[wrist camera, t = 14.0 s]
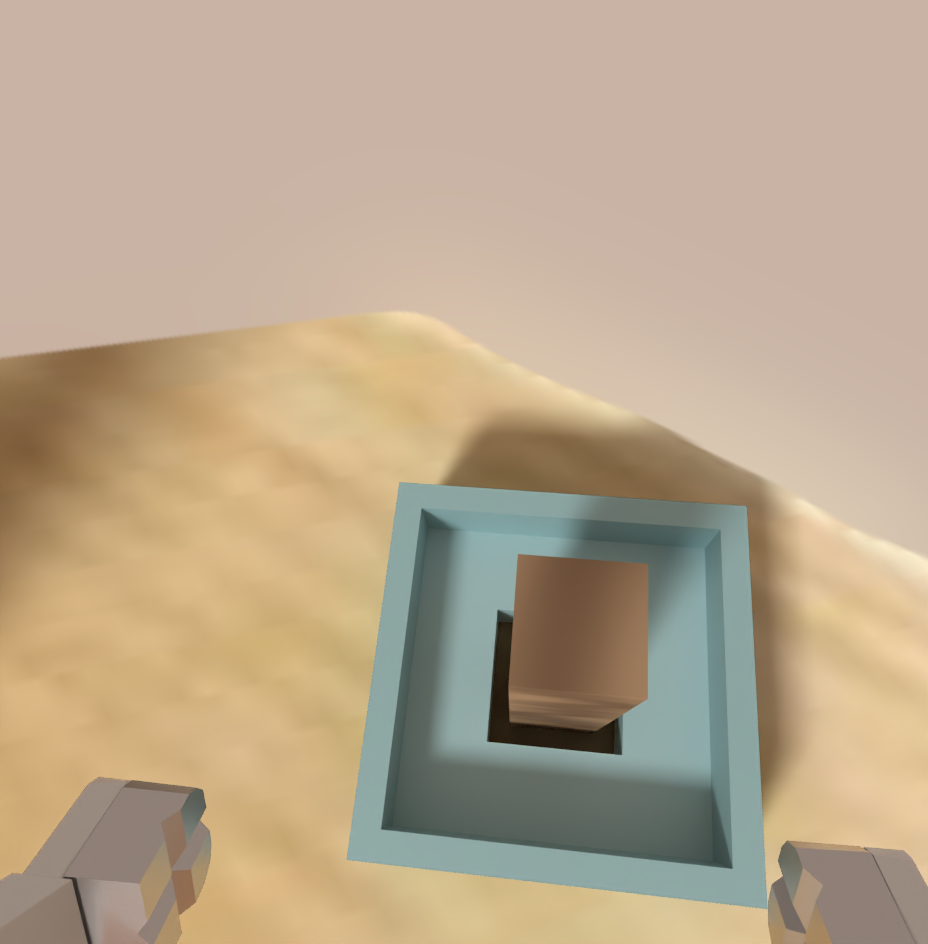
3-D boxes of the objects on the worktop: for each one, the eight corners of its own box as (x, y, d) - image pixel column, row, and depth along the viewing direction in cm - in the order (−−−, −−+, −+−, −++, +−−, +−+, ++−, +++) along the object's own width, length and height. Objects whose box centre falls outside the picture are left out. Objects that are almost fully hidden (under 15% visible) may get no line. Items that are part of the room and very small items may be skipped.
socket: (372, 847, 35) (346, 859, 29) (414, 523, 41) (399, 482, 35) (724, 888, 33) (767, 908, 28) (713, 545, 39) (746, 506, 34)
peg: (509, 725, 36) (508, 686, 22) (515, 643, 38) (517, 554, 23) (592, 733, 36) (647, 698, 21) (594, 650, 38) (648, 563, 23)
